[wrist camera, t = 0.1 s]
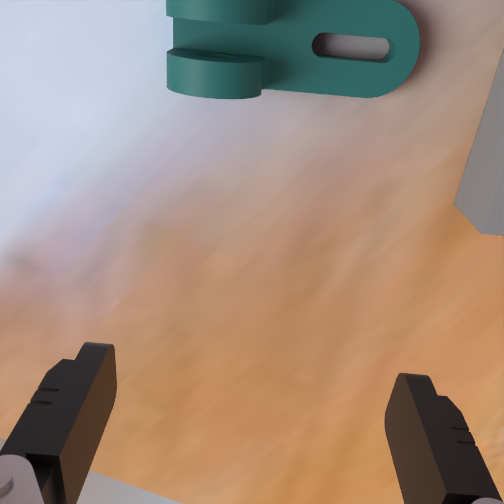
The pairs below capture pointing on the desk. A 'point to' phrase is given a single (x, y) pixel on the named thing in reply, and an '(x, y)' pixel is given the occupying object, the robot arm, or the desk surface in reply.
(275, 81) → the bracket
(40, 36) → the desk surface
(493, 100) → the board
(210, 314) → the desk surface
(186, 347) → the desk surface
